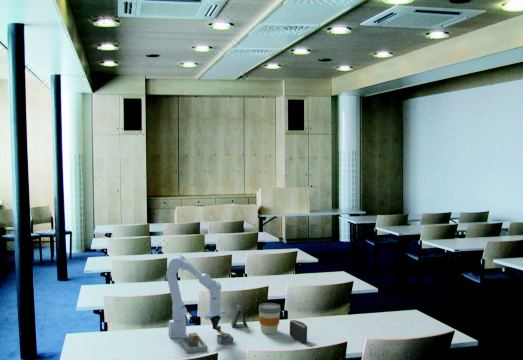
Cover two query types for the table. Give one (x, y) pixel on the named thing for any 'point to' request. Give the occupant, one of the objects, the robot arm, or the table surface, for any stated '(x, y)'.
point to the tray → (188, 349)
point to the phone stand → (237, 318)
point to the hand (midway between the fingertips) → (215, 329)
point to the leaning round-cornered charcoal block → (298, 331)
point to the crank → (222, 332)
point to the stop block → (193, 339)
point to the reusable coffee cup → (269, 317)
